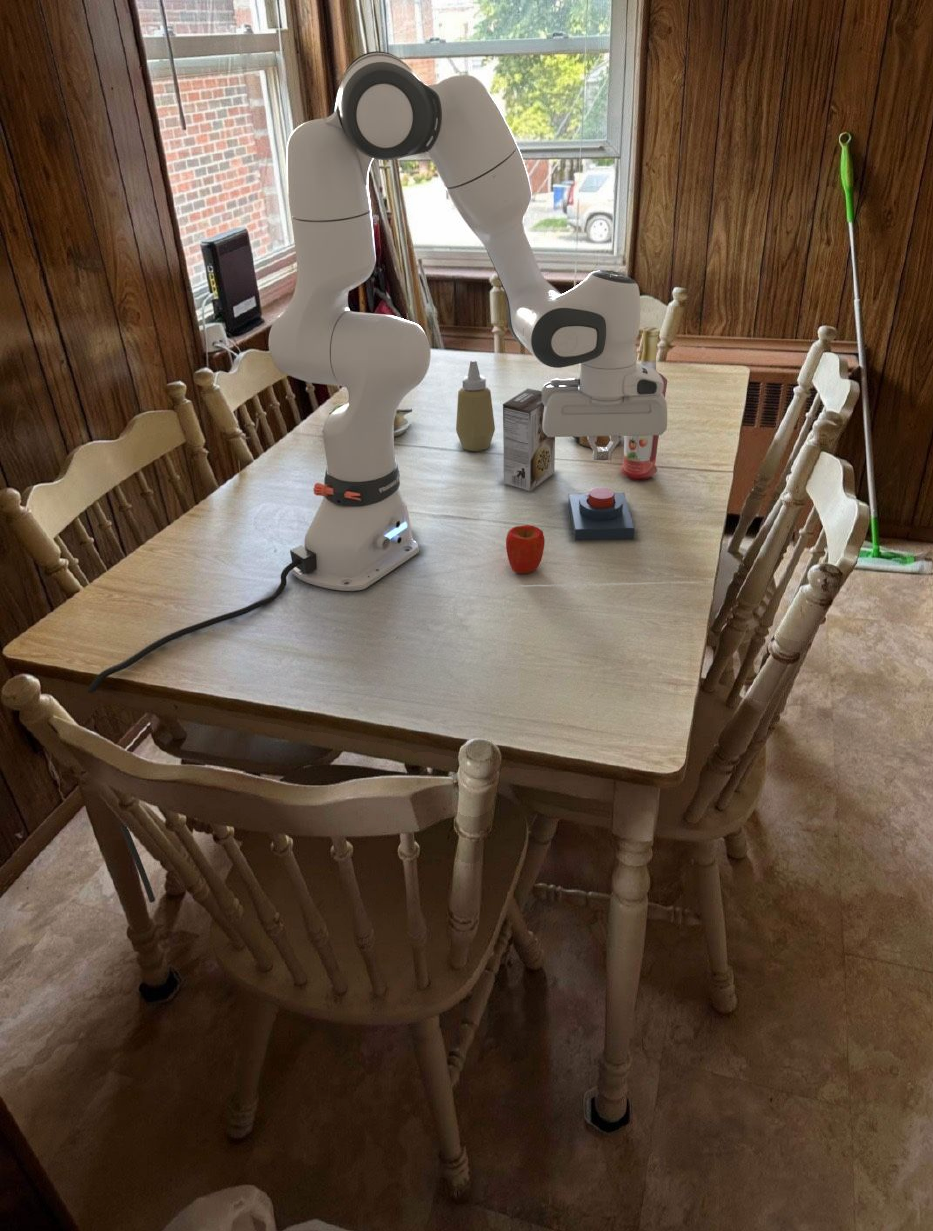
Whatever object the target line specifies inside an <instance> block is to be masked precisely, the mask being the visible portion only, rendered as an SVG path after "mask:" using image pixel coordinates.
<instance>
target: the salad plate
mask: <svg viewBox="0 0 933 1231" xmlns="http://www.w3.org/2000/svg"><path fill="white" fill-rule="evenodd" d="M342 406H343V405H337V406H335V407H334V408H333V409H332V411H331V412H329V413H328V415H330V414H331V413H332V412H333V411H335V410H336V409H338V408H340V407H342ZM412 412H413V409H412V408H397V411H396V414H395V419H394V437H397V436H400V435H402V434H404V433H405V432H406V431H408V429H410V427H411V426H412V423H411V421H410V420H408V419H407V418H406V417H404V416H406V415H408V414H411V413H412Z"/></svg>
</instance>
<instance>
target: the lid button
mask: <svg viewBox="0 0 933 1231" xmlns="http://www.w3.org/2000/svg"><path fill="white" fill-rule="evenodd" d="M588 493H589V498H588V504H589V505H590V506H592V507H596V508H608V507H611V506H613V505H614V493H615V491H614V490H613V489H611V488H609V487H604V486H599V487H597V486H596V487H593V488H591V489H590V490H589V491H588Z"/></svg>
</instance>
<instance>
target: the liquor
mask: <svg viewBox="0 0 933 1231" xmlns="http://www.w3.org/2000/svg"><path fill="white" fill-rule="evenodd" d="M659 333H660V328H659V327H656V326H655V327H654V326H646V327H644V328H642V345H643V346H642V347H643V348H642V351H641V359H640V364H639V365H642V366H645V367H648V368H652V369H655V370H656V371H657V345H658V341H659ZM658 373H659V374H660V376H661V377H662V379H663V383H664V388H663V392H662V393H663V395H664V398H665V399H666V393H667V386H668V379H667V377H665V376H664V375H663V374H662V373H660V372H658ZM659 440H660V435H648V436H624V446H623V464H622V465H621V467H620V471H621V472H622V473H623V474H624V475H625V477H627V478H628V479H630V480H632V481H638V482H639V481H640V482H641V481H646V480H648V479H650V478H651V477H653V476H655V474H657V472H658V468H657V465H656V462H657V455H658V454H657V453H658V446H659Z"/></svg>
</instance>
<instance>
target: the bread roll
mask: <svg viewBox="0 0 933 1231" xmlns="http://www.w3.org/2000/svg"><path fill="white" fill-rule="evenodd" d="M572 438H573V439H574V441H575V442H576V443H577V444H579V445H581V446H583V447H586V448H589V449H592V448H591V446H590V444H589V442H588V439H587V436H582V437H572ZM620 439H621V436H619V442H618V444H617V445H619V444H620V442H621V441H620ZM610 441H611V440H610V437H609V436H597V441H596V442H595V444H596V446H597V447H607V445H608V444H609V442H610Z"/></svg>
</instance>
